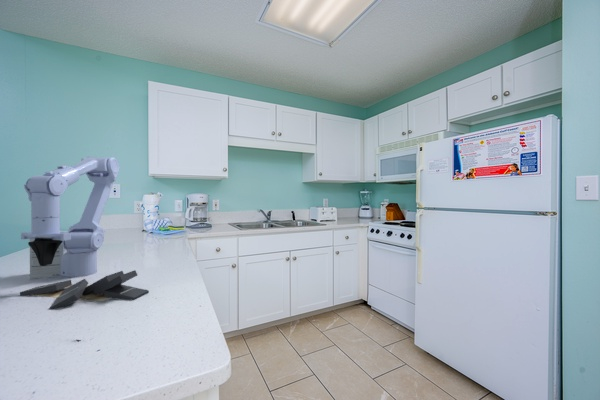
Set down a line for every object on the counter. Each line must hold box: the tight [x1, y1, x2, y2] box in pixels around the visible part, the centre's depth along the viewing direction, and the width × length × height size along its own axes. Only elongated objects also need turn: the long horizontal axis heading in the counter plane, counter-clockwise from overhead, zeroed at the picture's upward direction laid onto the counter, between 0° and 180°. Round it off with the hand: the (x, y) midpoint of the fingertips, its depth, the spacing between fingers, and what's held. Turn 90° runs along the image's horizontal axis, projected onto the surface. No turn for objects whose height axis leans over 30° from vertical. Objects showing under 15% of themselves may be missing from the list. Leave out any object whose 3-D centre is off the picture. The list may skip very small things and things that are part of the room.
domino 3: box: [82, 270, 125, 295], centre depth 69 cm, size 2×5×9 cm
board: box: [34, 283, 110, 302], centre depth 69 cm, size 21×9×1 cm, turn 81°
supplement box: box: [29, 230, 68, 280], centre depth 88 cm, size 9×9×15 cm
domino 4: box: [94, 269, 138, 295], centre depth 68 cm, size 2×5×9 cm
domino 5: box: [104, 283, 150, 301], centre depth 67 cm, size 2×5×9 cm
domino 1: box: [19, 279, 73, 297], centre depth 70 cm, size 2×5×9 cm
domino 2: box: [50, 278, 89, 310], centre depth 64 cm, size 2×5×9 cm
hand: (45, 264), depth 71 cm, fingers closed
